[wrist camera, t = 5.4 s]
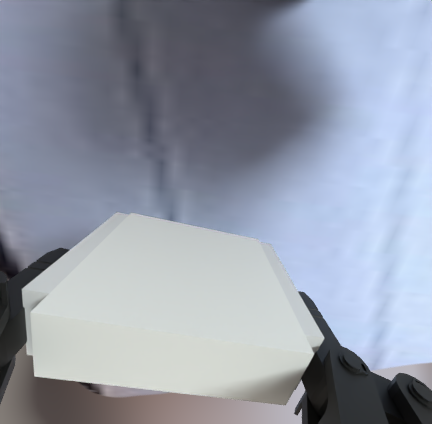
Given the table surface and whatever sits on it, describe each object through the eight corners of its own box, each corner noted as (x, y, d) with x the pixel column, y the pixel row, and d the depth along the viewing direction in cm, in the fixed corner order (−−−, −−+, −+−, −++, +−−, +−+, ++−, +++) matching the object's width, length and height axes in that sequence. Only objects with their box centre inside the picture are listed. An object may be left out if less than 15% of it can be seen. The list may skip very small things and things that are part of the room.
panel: (131, 212, 12) (29, 312, 5) (258, 239, 13) (314, 354, 6) (127, 248, 13) (34, 376, 6) (246, 271, 14) (285, 405, 7)
